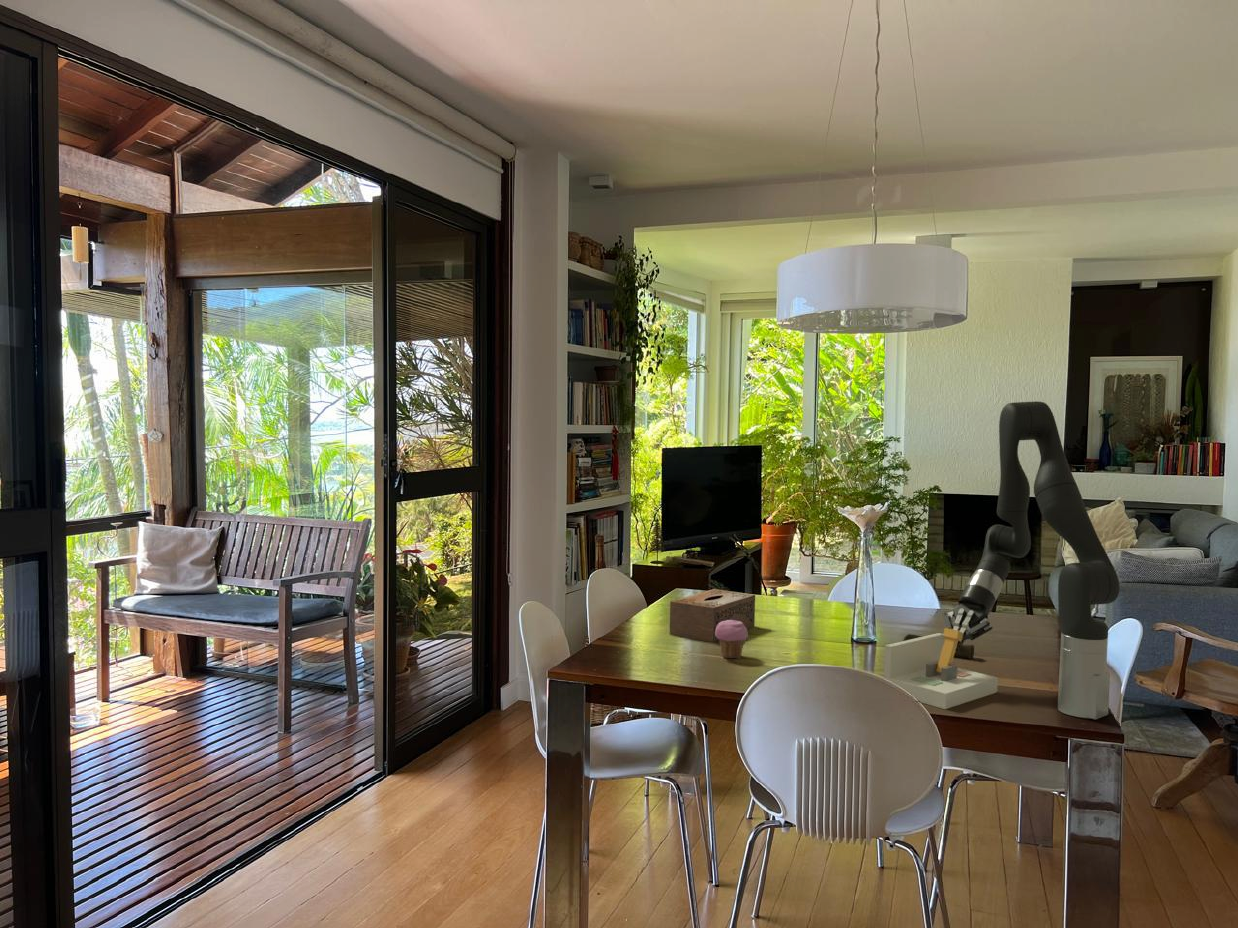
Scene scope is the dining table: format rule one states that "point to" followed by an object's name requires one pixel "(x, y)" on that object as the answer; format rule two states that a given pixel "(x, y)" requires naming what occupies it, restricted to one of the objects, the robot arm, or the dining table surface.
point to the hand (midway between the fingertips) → (951, 649)
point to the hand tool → (964, 651)
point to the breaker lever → (949, 647)
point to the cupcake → (731, 637)
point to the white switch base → (933, 673)
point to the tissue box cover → (710, 613)
